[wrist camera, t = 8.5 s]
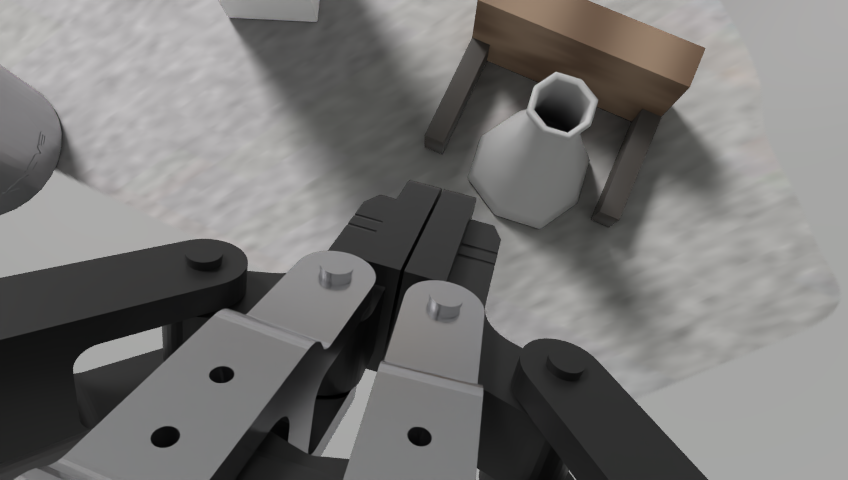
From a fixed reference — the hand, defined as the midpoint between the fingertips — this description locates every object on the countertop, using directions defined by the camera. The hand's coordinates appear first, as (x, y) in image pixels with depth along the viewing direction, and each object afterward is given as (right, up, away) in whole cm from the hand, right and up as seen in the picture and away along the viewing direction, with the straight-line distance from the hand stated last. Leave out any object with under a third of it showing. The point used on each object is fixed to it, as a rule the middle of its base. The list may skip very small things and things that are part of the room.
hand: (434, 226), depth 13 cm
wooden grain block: (+7, +7, +25) cm, 27 cm away
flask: (+6, +4, +25) cm, 26 cm away
